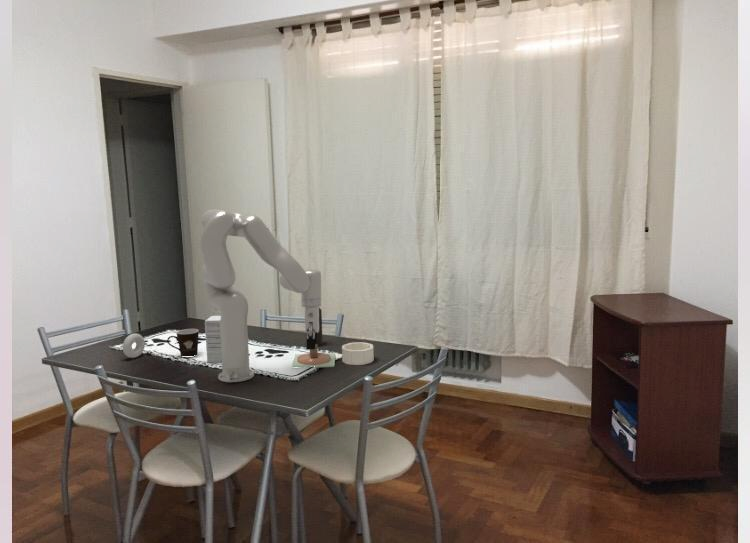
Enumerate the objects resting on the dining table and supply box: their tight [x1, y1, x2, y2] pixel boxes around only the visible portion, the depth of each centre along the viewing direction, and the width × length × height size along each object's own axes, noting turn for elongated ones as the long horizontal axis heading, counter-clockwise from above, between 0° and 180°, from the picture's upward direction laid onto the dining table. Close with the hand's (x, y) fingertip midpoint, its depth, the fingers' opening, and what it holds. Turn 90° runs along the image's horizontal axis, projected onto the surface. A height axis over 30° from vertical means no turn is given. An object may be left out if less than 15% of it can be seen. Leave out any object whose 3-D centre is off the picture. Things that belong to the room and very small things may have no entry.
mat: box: [291, 352, 336, 368], centre depth 226 cm, size 16×16×1 cm
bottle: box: [305, 307, 324, 347], centre depth 249 cm, size 7×7×20 cm
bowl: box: [341, 341, 375, 366], centre depth 226 cm, size 12×12×6 cm
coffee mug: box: [166, 328, 200, 357], centre depth 237 cm, size 12×9×10 cm
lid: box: [297, 344, 331, 365], centre depth 226 cm, size 13×13×6 cm
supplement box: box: [204, 315, 222, 363], centre depth 230 cm, size 10×9×17 cm
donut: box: [122, 333, 146, 359], centre depth 235 cm, size 10×4×10 cm, turn 154°
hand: (311, 345), depth 225 cm, fingers open, 9 cm apart
